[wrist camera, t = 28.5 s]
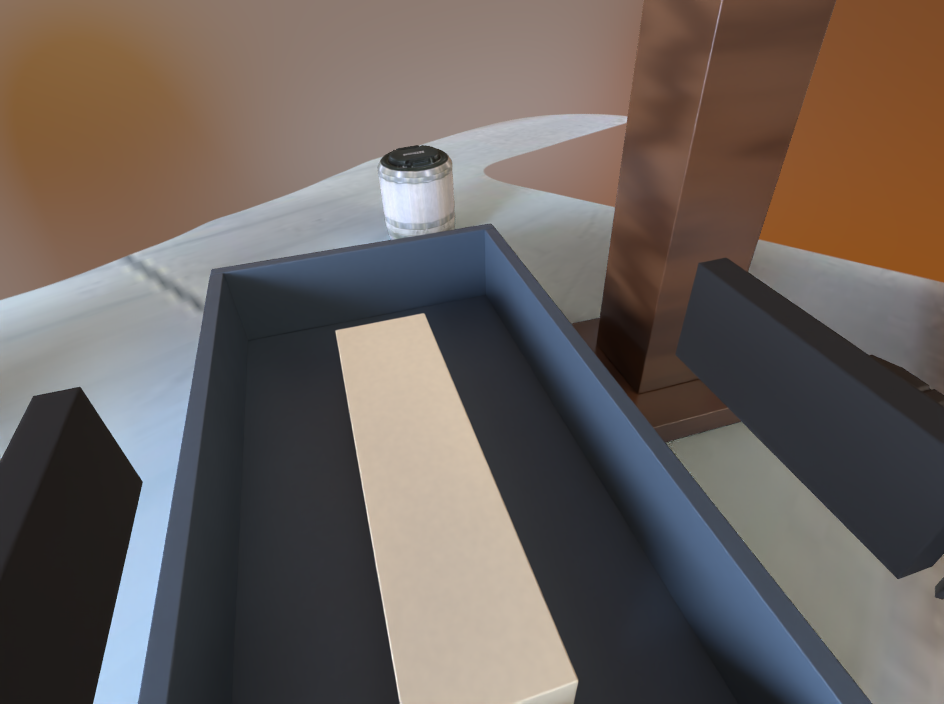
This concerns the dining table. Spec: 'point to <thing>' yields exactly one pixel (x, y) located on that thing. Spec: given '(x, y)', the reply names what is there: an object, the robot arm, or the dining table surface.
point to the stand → (696, 181)
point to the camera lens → (417, 191)
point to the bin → (513, 468)
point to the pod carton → (443, 533)
